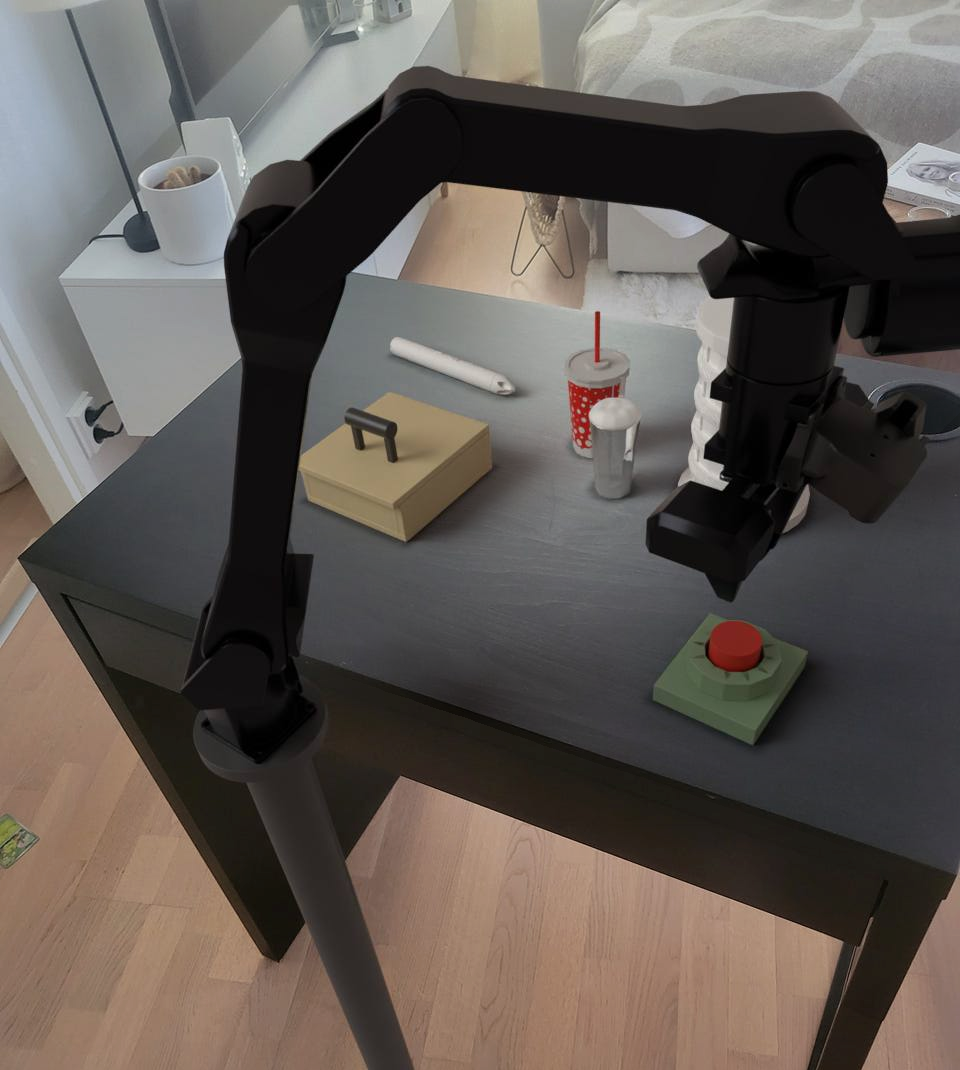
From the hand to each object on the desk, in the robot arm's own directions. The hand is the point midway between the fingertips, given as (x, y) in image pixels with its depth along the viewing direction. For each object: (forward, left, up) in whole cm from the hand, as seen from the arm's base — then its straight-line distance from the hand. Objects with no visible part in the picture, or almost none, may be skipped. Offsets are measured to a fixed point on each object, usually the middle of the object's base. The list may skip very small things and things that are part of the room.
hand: (746, 572), depth 63 cm
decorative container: (+21, +9, -11) cm, 25 cm away
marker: (+26, +46, -11) cm, 54 cm away
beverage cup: (+22, +25, -11) cm, 35 cm away
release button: (0, 0, -8) cm, 8 cm away
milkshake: (+17, +20, -11) cm, 28 cm away
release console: (0, 0, -11) cm, 11 cm away
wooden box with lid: (+7, +38, -7) cm, 39 cm away
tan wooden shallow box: (+7, +38, -11) cm, 40 cm away
